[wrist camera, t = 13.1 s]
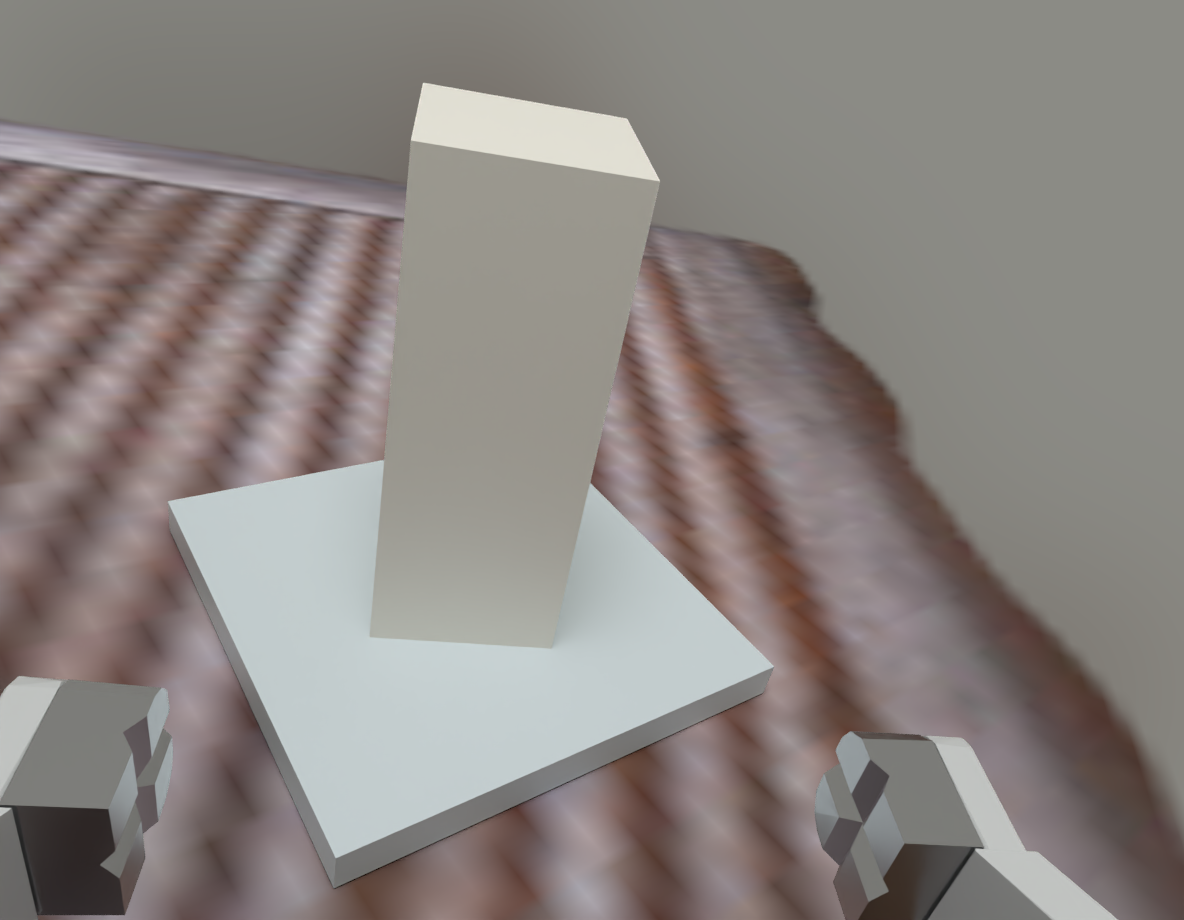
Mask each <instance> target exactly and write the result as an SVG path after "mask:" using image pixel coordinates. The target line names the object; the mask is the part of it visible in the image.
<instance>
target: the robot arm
mask: <svg viewBox="0 0 1184 920" xmlns="http://www.w3.org/2000/svg"><path fill="white" fill-rule="evenodd" d="M169 710H170V709H169V701H168V694H167V690H166V689H163V688H157V687H146V686H134V685H123V684H112V683H101V682H89V681H78V680H62V679H49V678H37V677H25V676H18V677H17V678H16V679H15V680H14V681H13V682H11V683H10V684H9V685H8V686H7V687H6V688H5V689H4V691H3V693H2V694H1V696H0V920H38V916H37V915H125V913H126V910H127V908H128V905H129V902H130V899H131V896H132V894H133V891H134V888H135V885H136V882H137V880H138V877H139V874H140V871H141V868H142V866H143V863H144V860H145V850H144V841H143V833H144V832H146V831H147V830H148V829H149V828H150V827H152V826H153V825H154V824H155V823H157V822H158V820H159V817H160V814H161V811H162V808H163V805H164V802H165V799H166V796H167V791H168V786H169V781H170V777H171V772H172V759H173V744H172V736H171V735H170V734H168V733H167V732H166V731H165V730H164V729H163V726H164V724H165V721H166V718H167V716H168V713H169ZM836 753H837V756H838V759H839V761H840V764H838V765H836V766H835V767H833V768H832V769H830V770H829V771H827V772H826V773H824V775H823V777H822V779H821V782H820V784H819V786H818V789H817V791H816V802H815V819H816V827H817V832H818V835H819V838H820V842H821V845H822V848H823V850H824V851H825V852H826V853H827V854H828V855H829V856H830V857H831V858H832V859H833V860H834V861H835V862H836V863H837V864H838V865H839V868H838V871H837V874H836V876H835V879H834V881H833V883H834V886H835V889H836V892H837V895H838V898H839V901H840V904H841V907H842V910H843V914H844V917H845V920H1117V919H1116V918H1115V917H1114V916H1113V915H1111V914H1110V913H1109V912H1108V911H1107V910H1106V909H1104V908H1103V907H1102V906H1101V905H1100V904H1098V903H1097V902H1096V901H1095V900H1094V899H1092V898H1091V897H1090V896H1089V895H1088V894H1087V893H1085V892H1084V891H1083V890H1082V889H1081V888H1079V887H1078V886H1077V885H1076V884H1075V883H1074V882H1072V881H1071V880H1070V879H1069V878H1068V877H1066V876H1065V875H1064V874H1063V873H1062V872H1060V871H1059V870H1058V869H1057V868H1056V867H1055V866H1053V865H1052V864H1051V863H1050V862H1049V861H1047V860H1046V859H1045V858H1044V857H1043V856H1042V855H1040V854H1039V853H1038V852H1034V851H1026V850H1025V848H1024V846H1023V844H1022V842H1021V840H1020V838H1019V836H1018V834H1017V833H1016V831H1015V829H1014V827H1013V825H1012V823H1011V821H1010V819H1009V817H1008V816H1007V814H1006V812H1005V810H1004V808H1003V806H1002V804H1001V802H1000V800H999V798H998V797H997V795H996V793H995V791H994V789H993V787H992V785H991V783H990V781H989V780H988V778H987V776H986V774H985V772H984V770H983V768H982V766H981V764H980V762H979V761H978V759H977V757H976V755H975V753H974V751H973V749H972V747H971V746H970V745H969V744H968V743H967V742H966V741H965V740H964V739H963V738H954V737H938V736H921V735H913V734H894V733H874V732H855V731H850V732H849V733H848V734H846V735H845V736H843V737H842V739H841V741H840V743H839V745H838V747H837V749H836Z"/></svg>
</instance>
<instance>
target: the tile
mask: <svg viewBox="0 0 1184 920" xmlns="http://www.w3.org/2000/svg"><path fill="white" fill-rule="evenodd" d="M383 469H384V460H381V461H376V462H371V463H366V464H360V465H355V466H350V467H345V468H340V469H334V470H329V471H324V472H319V473H313V474H308V475H303V476H298V477H293V478H287V479H282V480H277V481H272V482H267V483H261V484H256V485H251V486H246V487H240V488H235V489H230V490H225V491H220V492H214V493H209V494H204V495H199V496H194V497H188V498H183V499H178V500H173V501H168V512H169V526H170V532H171V534H172V536H173V538H174V540H175V543H176V545H177V547H178V549H179V551H180V553H181V556H182V558H183V560H184V562H185V564H186V567H187V569H188V571H189V573H190V575H191V578H192V580H193V582H194V584H195V586H196V588H197V591H198V593H199V595H200V597H201V599H202V602H203V604H204V606H205V608H206V610H207V613H208V615H209V617H210V619H211V621H212V623H213V626H214V628H215V630H216V632H217V634H218V637H219V639H220V641H221V643H222V645H223V647H224V650H225V652H226V654H227V656H228V658H229V661H230V663H231V665H232V667H233V669H234V672H235V674H236V676H237V678H238V680H239V682H240V685H241V687H242V689H243V691H244V693H245V696H246V698H247V700H248V702H249V704H250V707H251V709H252V711H253V713H254V715H255V717H256V720H257V722H258V724H259V726H260V728H261V731H262V733H263V735H264V737H265V739H266V741H267V744H268V746H269V748H270V750H271V752H272V755H273V757H274V759H275V761H276V763H277V766H278V768H279V770H280V772H281V774H282V776H283V779H284V781H285V783H286V785H287V787H288V790H289V792H290V794H291V796H292V798H293V801H294V803H295V805H296V807H297V809H298V811H299V814H300V816H301V818H302V820H303V822H304V825H305V827H306V829H307V831H308V833H309V835H310V838H311V840H312V842H313V844H314V846H315V849H316V851H317V853H318V855H319V857H320V860H321V862H322V864H323V866H324V868H325V870H326V873H327V875H328V877H329V879H330V881H331V884H332V886H333V888H336V887H338V886H340V885H342V884H345V883H347V882H349V881H351V880H353V879H356V878H358V877H360V876H362V875H364V874H366V873H369V872H371V871H373V870H375V869H377V868H380V867H382V866H384V865H386V864H388V863H391V862H393V861H395V860H397V859H399V858H402V857H404V856H406V855H408V854H410V853H413V852H415V851H417V850H419V849H421V848H424V847H426V846H428V845H430V844H432V843H435V842H437V841H439V840H441V839H443V838H446V837H448V836H450V835H452V834H454V833H457V832H459V831H461V830H463V829H465V828H467V827H470V826H472V825H474V824H476V823H478V822H481V821H483V820H485V819H487V818H489V817H492V816H494V815H496V814H498V813H500V812H503V811H505V810H507V809H509V808H511V807H514V806H516V805H518V804H520V803H522V802H525V801H527V800H529V799H531V798H533V797H536V796H538V795H540V794H542V793H544V792H547V791H549V790H551V789H553V788H555V787H557V786H560V785H562V784H564V783H566V782H568V781H571V780H573V779H575V778H577V777H579V776H582V775H584V774H586V773H588V772H590V771H593V770H595V769H597V768H599V767H601V766H604V765H606V764H608V763H610V762H612V761H615V760H617V759H619V758H621V757H623V756H626V755H628V754H630V753H632V752H634V751H637V750H639V749H641V748H643V747H645V746H648V745H650V744H652V743H654V742H656V741H658V740H661V739H663V738H665V737H667V736H669V735H672V734H674V733H676V732H678V731H680V730H683V729H685V728H687V727H689V726H691V725H694V724H696V723H698V722H700V721H702V720H705V719H707V718H709V717H711V716H713V715H716V714H718V713H720V712H722V711H724V710H727V709H729V708H731V707H733V706H735V705H738V704H740V703H742V702H744V701H746V700H748V699H751V698H753V697H755V696H757V695H759V694H762V693H763V692H764V690H765V687H766V685H767V683H768V680H769V678H770V676H771V673H772V671H773V668H774V666H773V665H772V664H771V663H770V662H769V661H768V660H767V659H766V658H765V657H764V656H763V655H762V654H761V653H760V652H759V651H758V650H757V649H756V648H755V647H754V646H753V645H752V644H751V643H750V642H749V641H748V640H747V639H746V638H745V637H744V636H743V635H742V634H741V633H740V632H739V631H738V630H737V629H736V628H735V627H734V626H733V625H732V624H731V623H730V622H729V621H728V620H727V619H726V618H725V617H724V616H723V615H722V614H721V613H720V612H719V611H718V610H717V609H716V608H715V607H714V606H713V605H712V604H711V603H710V602H709V601H708V600H707V599H706V598H705V597H704V596H703V595H702V594H701V593H700V592H699V591H698V590H697V589H696V588H695V587H694V586H693V585H692V584H691V583H690V582H689V581H688V580H687V579H686V578H685V577H684V576H683V575H682V574H681V573H680V572H679V571H678V570H677V569H676V568H675V567H674V566H673V565H672V564H671V563H670V562H669V561H668V560H667V559H666V558H665V557H664V556H663V555H662V554H661V553H660V552H659V551H658V550H657V549H656V548H655V547H654V546H653V545H652V544H651V543H650V542H649V541H648V540H647V539H646V538H645V537H644V536H643V535H642V534H641V533H640V532H639V531H638V530H637V529H636V528H635V527H634V526H633V525H632V524H631V523H630V522H629V521H628V520H627V519H626V518H625V517H624V516H623V515H622V514H621V513H620V512H619V511H618V510H617V509H616V508H615V507H614V506H613V505H612V504H611V503H610V502H609V501H608V500H607V499H606V498H605V497H604V496H603V495H602V494H601V493H600V492H599V491H598V490H597V489H596V488H595V487H594V486H593V485H592V484H591V483H590V485H589V489H588V494H587V498H586V502H585V506H584V511H583V515H582V519H581V524H580V528H579V532H578V537H577V541H576V545H575V549H574V554H573V558H572V562H571V567H570V571H569V575H568V579H567V584H566V588H565V592H564V597H563V601H562V605H561V610H560V614H559V618H558V622H557V627H556V631H555V635H554V640H553V644H552V648H551V649H549V648H533V647H517V646H501V645H485V644H469V643H453V642H437V641H421V640H405V639H389V638H373V637H370V625H371V613H372V601H373V589H374V577H375V565H376V553H377V541H378V529H379V517H380V505H381V493H382V481H383Z"/></svg>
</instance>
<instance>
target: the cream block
mask: <svg viewBox="0 0 1184 920" xmlns="http://www.w3.org/2000/svg"><path fill="white" fill-rule="evenodd" d="M659 184H660V180H659V178H658V176H657V175H656V173H655V171H654V169H653V167H652V165H651V163H650V161H649V159H648V158H647V156H646V154H645V152H644V150H643V148H642V146H641V144H640V142H639V140H638V139H637V137H636V135H635V133H634V131H633V130H632V127H631V125H630V124H629V122H628V120H627V119H626V118H620V117H615V116H609V115H603V114H598V113H592V112H586V111H581V110H574V109H569V108H564V107H557V106H552V105H547V104H541V103H535V102H530V101H524V100H518V99H512V98H507V97H501V96H496V95H490V94H484V93H478V92H473V91H467V90H462V89H456V88H450V87H445V86H439V85H433V84H428V83H423V86H422V91H421V95H420V100H419V105H418V110H417V115H416V119H415V124H414V129H413V133H412V138H411V147H410V159H409V171H408V182H407V194H406V206H405V218H404V230H403V242H402V254H401V266H400V278H399V290H398V302H397V314H396V326H395V338H394V350H393V362H392V374H391V386H390V398H389V410H388V421H387V433H386V445H385V457H384V469H383V481H382V493H381V505H380V517H379V529H378V541H377V553H376V565H375V577H374V589H373V601H372V613H371V625H370V637H373V638H389V639H405V640H421V641H437V642H453V643H469V644H485V645H501V646H517V647H533V648H549V649H551V648H552V644H553V640H554V635H555V631H556V627H557V622H558V618H559V614H560V610H561V605H562V601H563V597H564V592H565V588H566V584H567V579H568V575H569V571H570V567H571V562H572V558H573V554H574V549H575V545H576V541H577V537H578V532H579V528H580V524H581V519H582V515H583V511H584V506H585V502H586V498H587V494H588V489H589V485H590V481H591V476H592V472H593V468H594V463H595V459H596V455H597V451H598V446H599V442H600V438H601V433H602V429H603V425H604V420H605V416H606V412H607V408H608V403H609V399H610V395H611V390H612V386H613V382H614V377H615V373H616V369H617V365H618V360H619V356H620V352H621V347H622V343H623V339H624V334H625V330H626V326H627V322H628V317H629V313H630V309H631V304H632V300H633V296H634V291H635V287H636V283H637V279H638V274H639V270H640V266H641V261H642V257H643V253H644V248H645V244H646V240H647V236H648V231H649V227H650V223H651V218H652V214H653V209H654V205H655V201H656V197H657V193H658V188H659Z"/></svg>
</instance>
